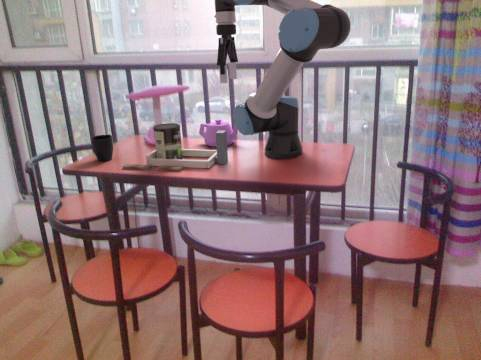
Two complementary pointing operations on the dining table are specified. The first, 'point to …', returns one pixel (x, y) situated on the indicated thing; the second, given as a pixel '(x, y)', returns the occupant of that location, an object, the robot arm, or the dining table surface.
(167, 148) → the coffee can
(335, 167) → the dining table surface
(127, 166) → the broken strip
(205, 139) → the teapot
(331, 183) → the dining table surface
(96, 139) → the mug
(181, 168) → the broken strip
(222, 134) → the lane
